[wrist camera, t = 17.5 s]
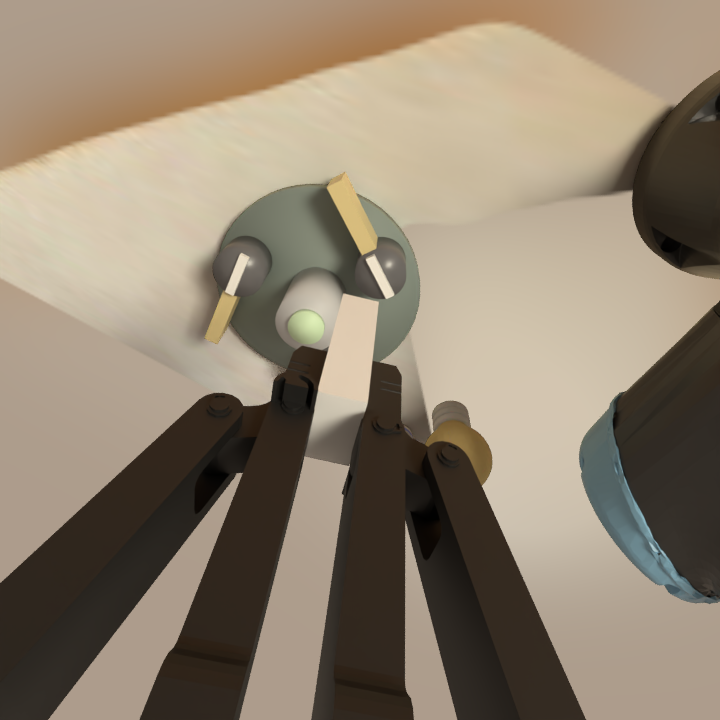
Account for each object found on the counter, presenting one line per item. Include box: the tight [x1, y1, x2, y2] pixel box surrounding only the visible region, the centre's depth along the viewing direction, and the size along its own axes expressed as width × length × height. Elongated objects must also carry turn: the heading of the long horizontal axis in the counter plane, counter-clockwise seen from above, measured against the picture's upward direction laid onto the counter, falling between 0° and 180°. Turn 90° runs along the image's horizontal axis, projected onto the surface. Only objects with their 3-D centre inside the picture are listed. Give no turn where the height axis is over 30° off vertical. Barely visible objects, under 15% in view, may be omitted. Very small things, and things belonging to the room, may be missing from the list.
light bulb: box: [425, 401, 492, 486], centre depth 43 cm, size 6×6×10 cm
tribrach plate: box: [217, 184, 420, 368], centre depth 37 cm, size 18×18×7 cm
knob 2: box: [327, 172, 406, 299], centre depth 34 cm, size 10×4×4 cm, turn 27°
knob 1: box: [204, 236, 272, 344], centre depth 38 cm, size 10×4×4 cm, turn 152°
